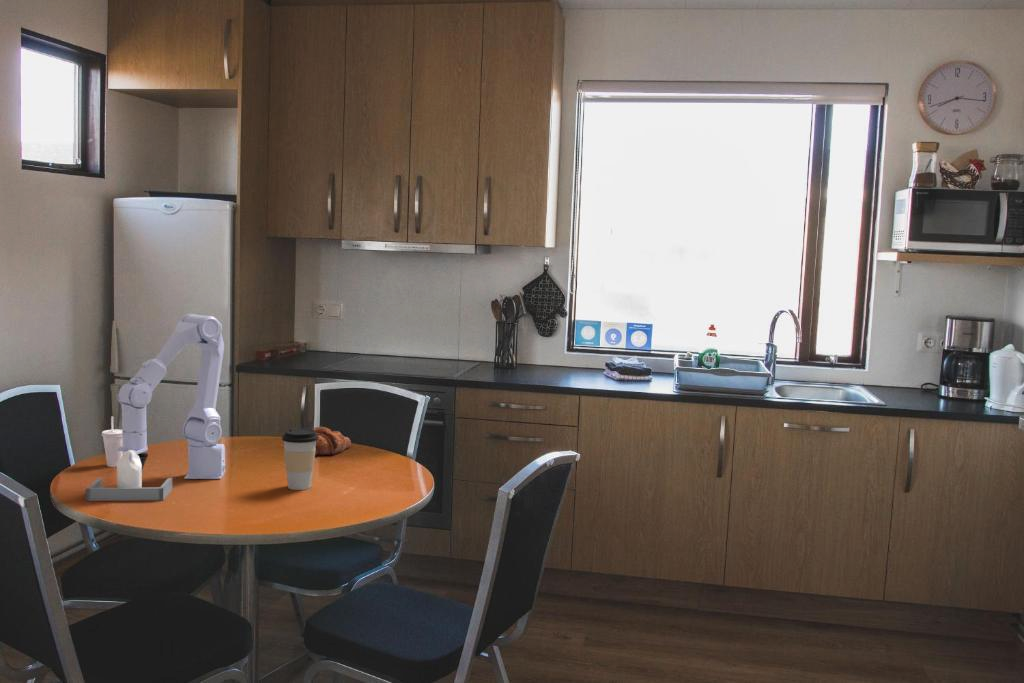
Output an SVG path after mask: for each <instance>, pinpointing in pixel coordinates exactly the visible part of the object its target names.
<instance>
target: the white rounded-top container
mask: <svg viewBox="0 0 1024 683" xmlns="http://www.w3.org/2000/svg"><path fill="white" fill-rule="evenodd" d="M129 454H132V461H131V462H130V460H129ZM142 474H143V470H142V464H141V461H140V458H139V456H138V455H137V454H136V452H135V451H133V450H128V451H126V452H124V454H123V456H122V457H121V459H120V460H119V462H118V463H117V467H116V478H117V479H116V480H117V481H116V483H117V485H116V486H117V488H130V487H143V486H142V485H143V484H142V483H143V482H142V481H143V476H142Z"/></svg>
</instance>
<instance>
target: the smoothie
mask: <svg viewBox="0 0 1024 683" xmlns="http://www.w3.org/2000/svg"><path fill="white" fill-rule="evenodd" d="M110 427H111V429H107V430H103V431H102V432H101V437H102V439H103V444H104V445H103V447H104V452H105V459H106V465H107V467H110V468H117V463H118V462H119V460H120V459H121V457H122V456H123V453H122V451H118V447H123V444H122V429H118V428H117V429H116V428H115V429H114V416H110Z"/></svg>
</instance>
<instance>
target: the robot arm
mask: <svg viewBox="0 0 1024 683" xmlns="http://www.w3.org/2000/svg"><path fill="white" fill-rule="evenodd" d="M222 331H223V324H222V323H221V322H220V321H219V320H218V318H216V317H215V316H212V315H199V314H195V313H187V314H185V315H183V317H182V318H181V319H180V321H179V322H178V323H177V324H176V326H175V329H174V332H173V333H172V335H171V336H170V337H169V339H168V340H167V341H166V343H165V344H164V346H163V347H162V349H161V350H160V351H159V353H158V354H157V355H156V357H155V358H153V359H151V358H150V359H148V360H147V361H143V362H142V363H141V368H140V369H139V370H138V372H137V373H136V374H135V375H134V376H132V377H131V378H130V379H129V382H127V383H125V384H123V385H122V386H121V387H120V388H119V391H118V394H116V399H117V401H118V402H119V403H120V405H121V417H122V418H121V422H122V423H121V427H122V428H121V430H122V444H123V447H118V451H122V453H123V454H124V452H126V451H128V450H133V451H135V452H136V454H137V455H138V456H139V458H140V461H141V464H142V471H143V469H144V466H145V463H146V461H147V459H148V456H149V454H148V453H146V452H147V451H148V442H147V440H148V439H147V437H148V436H147V435H148V433H147V432H148V431H147V425H148V424H147V405H148V404H149V403H151V400H152V398H153V396H152V395H153V392H154V390H155V389H156V387H157V386H158V385H159V384H160V382H161V381H162V380H163V378H164V377H165V376H166V375H167V374H168V371H167V369H168V368H167V367H168V365H169V364H170V363H171V362H172V361H173V360H174V359H175V358H176V357H177V356H178V354H179V353H181V352H182V350H183V349H184V348H185V347H186V346H187V345H189V344H195V343H196V345H198V347H199V348H200V349H201V350H202V351H201V356H200V357H201V358H200V364H199V373H198V379H197V386H196V392H195V393H196V394H195V399H194V407H193V408H192V409H191V410H190V411H189V412H188V413H187V418H186V420H185V422H184V423H183V425H182V434H183V436H184V437H185V439H187V441H186V443H187V451H188V453H187V454H188V455H187V456H188V458H187V459H188V463H187V464H188V465H187V466H188V467H187V468H188V470H187V472H188V473H186V475H185V476H184V479H185V480H198V479H199V480H221V479H222V477H223V476H224V475H225V473H226V447H225V444H224V443H218V442H219V441H220V439H221V437H222V435H223V434H222V433H223V430H222V426H221V420H222V419H221V416H220V414H219V413H218V412H217V410H216V407H217V400H218V395H219V394H218V393H219V386H220V380H221V374H222V373H221V372H222V367H223V366H222V364H223V358H224V352H225V342H224V338H223V334H222ZM129 460H130V462H131V461H132V454H129Z"/></svg>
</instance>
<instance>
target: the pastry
mask: <svg viewBox="0 0 1024 683" xmlns="http://www.w3.org/2000/svg"><path fill="white" fill-rule="evenodd" d="M312 430H315V431H316V434H317V435H318V438H319V439H318V440H317V441H316V445H315V448H316V450H315V457H318V456H319V457H320V456H325V457H326V456H334V455H337V454H340V453H342V452H344V451H345V450H348V449H349V448H350V447H351V445H352V441H351V439H350V438H349V437H348V436H344V435H343V434H342V433H341V432H340V431H337V430H333V431H332V430H331V429H330V428H327V427H326V426H325V427H324V426H316V427H314V428H312Z"/></svg>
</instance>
